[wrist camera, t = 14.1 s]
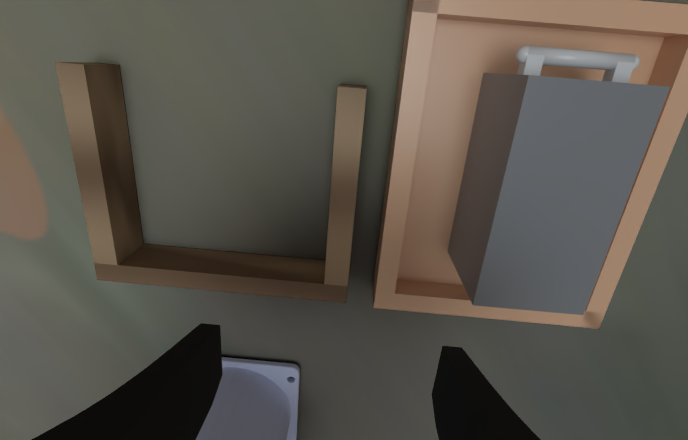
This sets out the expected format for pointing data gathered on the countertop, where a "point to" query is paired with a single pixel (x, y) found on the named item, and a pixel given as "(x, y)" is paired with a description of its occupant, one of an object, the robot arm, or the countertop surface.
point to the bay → (188, 263)
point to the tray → (457, 121)
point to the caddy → (549, 178)
